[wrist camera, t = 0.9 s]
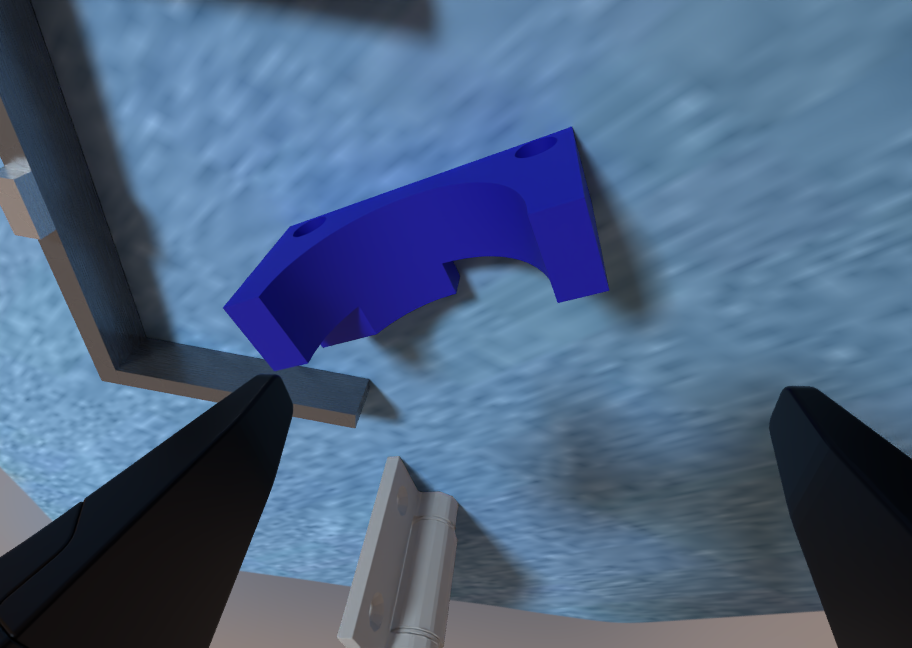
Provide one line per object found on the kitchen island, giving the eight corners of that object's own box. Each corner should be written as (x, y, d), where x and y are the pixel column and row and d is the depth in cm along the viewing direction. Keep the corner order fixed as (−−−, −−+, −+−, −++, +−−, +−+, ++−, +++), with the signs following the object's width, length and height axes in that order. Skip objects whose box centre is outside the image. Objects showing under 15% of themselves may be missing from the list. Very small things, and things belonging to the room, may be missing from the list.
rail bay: (384, -83, 14) (350, -85, 12) (368, 392, 27) (350, 441, 24) (-57, -159, 14) (-185, -178, 12) (132, 348, 27) (90, 392, 25)
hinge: (386, 452, 30) (336, 635, 22) (473, 470, 30) (453, 658, 22) (373, 559, 39) (333, 718, 31) (441, 572, 39) (418, 734, 31)
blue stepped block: (343, 306, 24) (296, 399, 19) (291, 224, 21) (222, 307, 17) (600, 235, 20) (619, 329, 15) (571, 124, 17) (584, 197, 13)
